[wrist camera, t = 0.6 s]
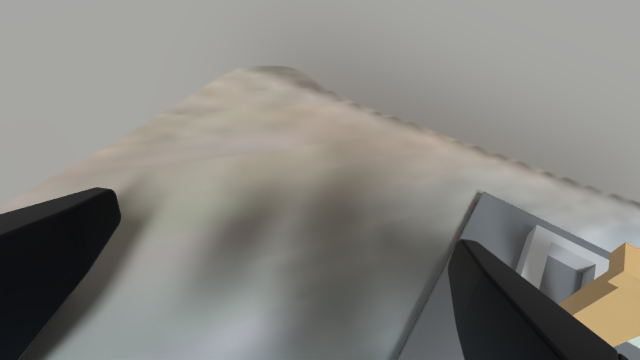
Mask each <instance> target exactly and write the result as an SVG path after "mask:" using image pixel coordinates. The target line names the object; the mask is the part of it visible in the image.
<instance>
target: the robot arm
mask: <svg viewBox="0 0 640 360" xmlns="http://www.w3.org/2000/svg"><path fill="white" fill-rule="evenodd" d="M120 220H121V213H120V209H119V205H118V201H117V196H116V193H115V192H114V191H113V190H111V189H106V188H99V187H97V188H92V189H88V190H85V191H81V192H78V193H74V194H71V195H67V196H64V197H60V198H57V199H53V200H49V201H46V202H42V203H39V204H35V205H32V206H28V207H25V208H21V209H18V210H14V211H11V212H7V213H4V214H0V360H19V359H20V358H21V356H22V355H23V354H24V353H25V351H26V350H27V349H28V348H29V346H30V345H31V344H32V342H33V341H34V340H35V339H36V337H37V336H38V335H39V334H40V332H41V331H42V330H43V329H44V327H45V326H46V325H47V324H48V322H49V321H50V320H51V319H52V317H53V316H54V315H55V313H56V312H57V311H58V310H59V308H60V307H61V306H62V305H63V303H64V302H65V301H66V300H67V298H68V297H69V296H70V295H71V293H72V292H73V291H74V290H75V288H76V287H77V286H78V284H79V283H80V282H81V281H82V279H83V278H84V277H85V275H86V274H87V273H88V271H89V270H90V268H91V267H92V265H93V264H94V262H95V261H96V259H97V258H98V256H99V255H100V253H101V252H102V250H103V248H104V247H105V245H106V244H107V242H108V241H109V239H110V238H111V236H112V234H113V233H114V231H115V230H116V228H117V227H118V225H119V223H120ZM448 276H449V283H450V290H451V297H452V304H453V311H454V317H455V323H456V329H457V333H458V337H459V341H460V345H461V349H462V352H463V356H464V360H629V359H628V358H627V357H625V356H624V355H623V354H618V351H617V350H616V349H615V348H614V347H612V346H611V345H610V344H608V343H607V342H606V341H605V340H603V339H602V338H601V337H599V336H598V335H597V334H596V333H594V332H593V331H592V330H590V329H589V328H588V327H587V326H585V325H584V324H583V323H581V322H580V321H579V320H578V319H576V318H575V317H574V316H572V315H571V314H570V313H568V312H567V311H566V310H565V309H563V308H562V307H561V306H559V305H558V304H557V303H556V302H554V301H553V300H552V299H550V298H549V297H548V296H547V295H545V294H544V293H543V292H541V291H540V290H539V289H538V288H536V287H535V286H534V285H532V284H531V283H530V282H529V281H527V280H526V279H525V278H523V277H522V276H521V275H520V274H518V273H517V272H516V271H514V270H513V269H512V268H511V267H509V266H508V265H507V264H505V263H504V262H503V261H502V260H500V259H499V258H498V257H496V256H495V255H494V254H493V253H491V252H490V251H489V250H487V249H486V248H485V247H484V246H482V245H481V244H480V243H478V242H477V241H474V240H467V239H460V240H458V241H457V243H456V245H455V248H454V250H453V253H452V256H451V258H450V261H449V264H448Z"/></svg>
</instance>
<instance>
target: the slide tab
mask: <svg viewBox="0 0 640 360" xmlns="http://www.w3.org/2000/svg"><path fill="white" fill-rule="evenodd" d="M558 305H559V306H561V307H562V308H563V309H565V310H566V311H567V312H568V313H570V314H571V315H572V316H574V317H575V318H576V319H578V320H579V321H580V322H581V323H583V324H584V325H585V326H587V327H588V328H589V329H590V330H592V331H593V332H594V333H596V334H597V335H598V336H599V337H601V338H602V339H603V340H605V341H606V342H607V343H608V344H610V345H611V346H612V347H615V346H617V345H620V344H622V343H624V342H627V341H629V340H631V339H633V338H636V337H638V336H640V249H639V248H637V247H635V246H633V245H631V244H629V243H627V242H625V243H624V244H623V245H621V246H620V247H618V248H617V249H616V250H614V251H613V252H612V253H610V258H609V268H608V271H606V272H605V273H604V274H602V275H601V276H599V277H598V278H596V279H595V280H593V281H592V282H590V283H589V284H587V285H586V286H584V287H583V288H581V289H580V290H578V291H577V292H576V293H574V294H573V295H571V296H570V297H568V298H567V299H565V300H564V301H562V302H561V303H559V304H558Z"/></svg>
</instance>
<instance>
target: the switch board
mask: <svg viewBox="0 0 640 360" xmlns="http://www.w3.org/2000/svg"><path fill="white" fill-rule="evenodd" d="M460 239H467V240H474V241H477V242H478V243H480V244H481V245H482V246H484V247H485V248H486V249H487V250H489V251H490V252H491V253H493V254H494V255H495V256H496V257H498V258H499V259H500V260H502V261H503V262H504V263H505V264H507V265H508V266H509V267H511V268H512V269H513V270H514V271H516V272H517V273H518V274H520V275H521V276H522V277H523V278H525V279H526V280H527V281H529V282H530V283H531V284H532V285H534V286H535V287H536V288H538V289H539V290H540V291H541V292H543V293H544V294H545V295H547V296H548V297H549V298H550V299H552V300H553V301H554V302H556V303H557V304H559V303H561V302H562V301H564V300H565V299H567V298H568V297H570V296H571V295H573V294H574V293H576V292H577V291H578V290H580V289H581V288H583V287H584V286H586V285H587V284H589V283H590V282H592V281H593V280H595V279H596V278H598V277H599V276H601V275H602V274H604V273H605V272H606V271H608V268H609V258H610V252H608V251H606V250H604V249H602V248H600V247H597V246H595V245H593V244H591V243H589V242H587V241H585V240H583V239H581V238H579V237H577V236H575V235H573V234H571V233H569V232H567V231H564V230H562V229H560V228H558V227H556V226H554V225H552V224H550V223H548V222H546V221H544V220H542V219H540V218H538V217H536V216H534V215H531V214H529V213H527V212H525V211H523V210H521V209H519V208H517V207H515V206H513V205H511V204H509V203H507V202H505V201H503V200H501V199H499V198H496V197H494V196H492V195H490V194H488V193H486V192H483V194H482V195H481V197H480V198H479V200H478V202H477V204H476V206H475V208H474V210H473V211H472V213H471V215H470V217H469V219H468V221H467V223H466V225H465V227H464V229H463V231H462V233H461V235H460V237H459V239H458V240H460ZM454 248H455V247H454ZM454 248H453V250H454ZM453 250H452V252H451V254H450V256H449V258H448V260H447V262H446V264H445V266H444V268H443V270H442V272H441V274H440V276H439V278H438V280H437V282H436V284H435V285H434V287H433V289H432V291H431V293H430V295H429V297H428V299H427V301H426V303H425V305H424V307H423V309H422V311H421V313H420V315H419V317H418V319H417V321H416V322H415V324H414V326H413V328H412V330H411V332H410V334H409V336H408V338H407V340H406V342H405V344H404V346H403V348H402V350H401V352H400V354H399V356H398V358H397V359H396V360H464V356H463V352H462V349H461V345H460V341H459V337H458V333H457V329H456V323H455V317H454V311H453V304H452V297H451V290H450V283H449V276H448V264H449V261H450V258H451V256H452V253H453ZM614 348H615V349H616V350H617V351H618V354H623V355H624V356H625V357H627V358H628V359H629V360H640V336H638V337H636V338H633V339H631V340H629V341H627V342H624V343H622V344H620V345H617V346H615V347H614Z"/></svg>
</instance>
